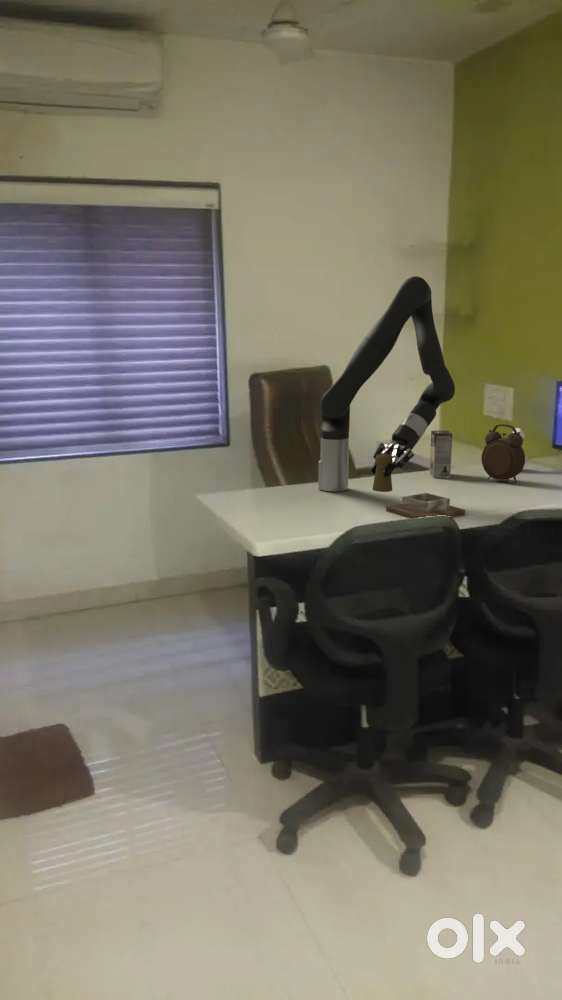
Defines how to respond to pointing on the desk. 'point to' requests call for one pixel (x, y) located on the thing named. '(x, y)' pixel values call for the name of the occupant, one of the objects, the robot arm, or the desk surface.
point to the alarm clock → (503, 454)
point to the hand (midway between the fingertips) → (378, 473)
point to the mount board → (425, 506)
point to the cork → (380, 480)
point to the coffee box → (440, 454)
